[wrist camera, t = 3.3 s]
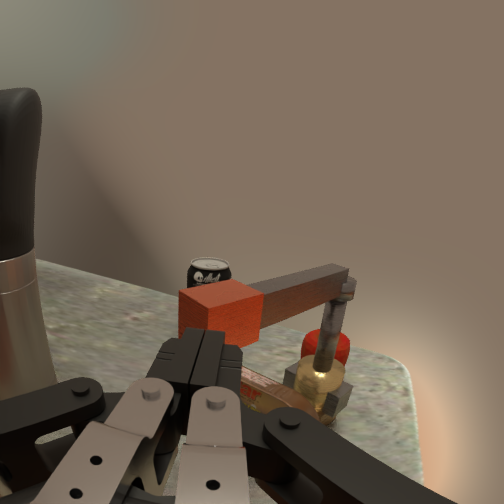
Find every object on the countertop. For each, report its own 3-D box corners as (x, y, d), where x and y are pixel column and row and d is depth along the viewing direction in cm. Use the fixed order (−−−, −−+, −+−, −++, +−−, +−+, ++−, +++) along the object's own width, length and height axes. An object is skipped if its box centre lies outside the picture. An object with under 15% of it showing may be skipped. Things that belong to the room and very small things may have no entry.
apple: (319, 364, 43) (329, 319, 41) (349, 385, 38) (363, 338, 36) (285, 376, 40) (294, 328, 38) (316, 401, 35) (329, 351, 33)
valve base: (344, 419, 31) (380, 303, 28) (320, 441, 28) (357, 318, 24) (298, 394, 36) (321, 282, 32) (271, 411, 33) (291, 292, 29)
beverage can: (209, 320, 54) (213, 254, 51) (235, 336, 49) (241, 265, 47) (178, 330, 49) (179, 259, 46) (202, 348, 45) (206, 272, 42)
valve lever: (332, 287, 30) (338, 255, 30) (358, 296, 28) (365, 262, 28) (177, 339, 18) (177, 289, 17) (207, 363, 16) (210, 309, 15)
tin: (181, 410, 31) (180, 349, 29) (201, 399, 34) (202, 339, 32) (297, 481, 23) (318, 423, 21) (313, 461, 25) (335, 402, 23)
